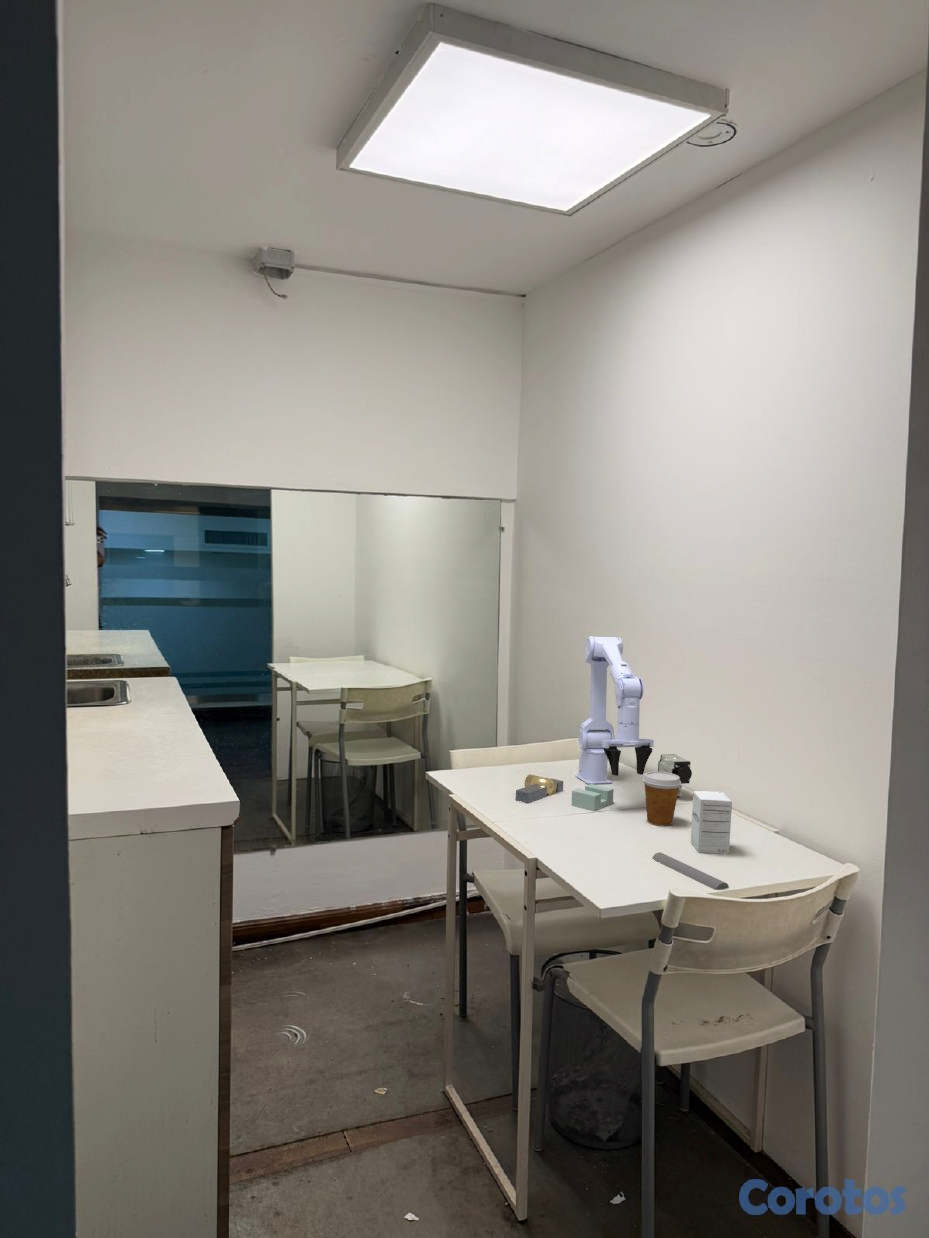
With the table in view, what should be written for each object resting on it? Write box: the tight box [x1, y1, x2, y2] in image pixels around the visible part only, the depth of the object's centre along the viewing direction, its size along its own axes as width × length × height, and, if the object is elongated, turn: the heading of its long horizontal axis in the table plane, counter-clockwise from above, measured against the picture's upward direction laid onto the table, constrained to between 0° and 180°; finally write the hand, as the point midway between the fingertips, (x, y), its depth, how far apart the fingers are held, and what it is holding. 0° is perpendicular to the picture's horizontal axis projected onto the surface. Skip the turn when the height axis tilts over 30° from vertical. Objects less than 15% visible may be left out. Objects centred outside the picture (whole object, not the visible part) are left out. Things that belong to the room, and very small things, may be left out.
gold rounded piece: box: [524, 774, 557, 796], centre depth 242 cm, size 8×4×4 cm, turn 51°
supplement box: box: [690, 790, 733, 855], centre depth 199 cm, size 7×7×13 cm
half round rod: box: [652, 852, 729, 890], centre depth 184 cm, size 4×20×2 cm, turn 29°
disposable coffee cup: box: [642, 771, 682, 827], centre depth 218 cm, size 10×10×12 cm
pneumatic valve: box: [657, 753, 693, 798], centre depth 243 cm, size 6×12×12 cm, turn 14°
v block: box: [571, 784, 614, 812], centre depth 232 cm, size 7×10×4 cm
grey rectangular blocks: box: [515, 778, 564, 804], centre depth 239 cm, size 4×18×3 cm, turn 141°
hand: (627, 774), depth 227 cm, fingers open, 7 cm apart
